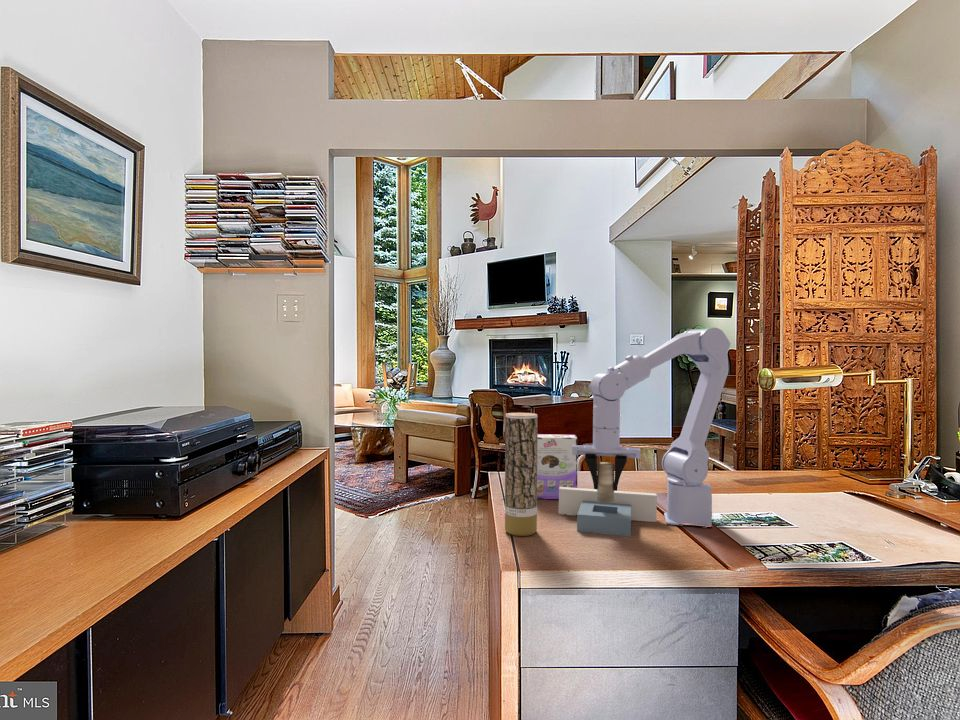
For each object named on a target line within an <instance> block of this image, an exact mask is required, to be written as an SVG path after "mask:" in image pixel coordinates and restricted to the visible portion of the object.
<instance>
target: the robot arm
mask: <svg viewBox="0 0 960 720" xmlns="http://www.w3.org/2000/svg"><path fill="white" fill-rule="evenodd" d="M730 347H731V342H730V340H729V338H728V337H727V335H726V333H725V332H724V330H722V329H720V328H718V327H710V328H701V329H700V328H699V329H694V328H691V329H690V328H689V329H687V330H686V331H684V332H682V333H678V334H676V335H675V336H674V337H673V338H671V339H669V340H668V341H666V342H664V343H663V344H661V345H660V346H658V347H657V348H655V349H653V350H652V351H650V352H648V353H647V354H646V355H644V356H640V355H637V354H636V355H631V354H629V355H627V356H625V357H624V361H622V362H620V363H618V364H617V365H615V366H614V367H613V366H609V367H607V372H600V373H597V374H595V375H594V376H593V377H592V379H591V381H590V384H588V390H589V392H590V394H591V395H592V396H593V397H592V398H593V407H592V408H593V409H592V415H593V416H592V444H591V445H589V444H586V445H585V444H584V445H582V444H580V445H578V444H577V445H573V447H572V455H577V456H578V455H579V456H581V455H582V456H584V461H585V463H586V466H587V467H588V470H589V472H590V475H591V479H592V482H593V483H592V484H593V489H597V467H598V457H614V491H618V485H619V482H620V477H621V475H622V472H623V470H624V467H625V466H626V464H627V462H628V458H632V459H633V458H634V459H636V460H637V459H641V448H639V447H638V448H636V447H629V446H620V436H621V435H620V432H621V431H620V424H621V423H620V422H621V421H620V420H621V419H620V418H621V417H620V416H621V415H620V414H621V408H620V407H621V400H620V399H621V398H622V397H623V396H624V394H625V392H626V391H627V390H629V389H630V388H632V387H634V386H636V385H637V384H639V383H641V382H643V381H644V380H646V379H648V378H649V377H651V376H650V375H651V373H652V370H653V369H655V368H656V367H659V366H661V365H662V364H664V363H666V362H668V361H670V360H673V359H675V358H676V357H678V356H680V355H685V356H687V358H689V360H691V361H692V362H693V363H694V364H695V365H696V367H697V368H698V370H699V372H700V375H699V378H698V381H697V383H696V386H695V389H694V392H693V395H692V399H691V402H690V404H689V406H688V407H689V408H688V411H687V414H686V417H685V420H684V423H683V425H682V429H681V431H680V435H679V437H677V438H676V439H675V440H673V441H672V442H671V443H670V446H669V449H667V451H666V452H665V453H664V455H663V456H662V459H661V468H662V471H664V473H665V474H666V480H667V481H666V483H667V484H666V486H667V487H666V512H664V513H663V515H664V519H665V520H664V521H665V524H666V525H674V526H675V525H676V526H680V525H679V524H681V523H690V524H691V523H693V524H697V525H704V526H712V527H713V524H712V521H713V520H712V519H713V492H712V486H711V484H709V483H703V482H704V481H705V480H706V479H707V476H708V473H709V466H708V463H709V462H708V461H709V458H710V454H709V451H708V448H706V441H707V438H708V435H709V432H710V429H711V426H712V423H713V420H714V417H715V413H716V412H717V407H718V404H719V401H720V400H721V399H720V398H721V395H722V393H723V389H724V386H725V385H726V380H727V377H728V374H729V370H730V369H729V360H728V359H729V358H728V352H729V349H730Z"/></svg>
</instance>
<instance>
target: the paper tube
mask: <svg viewBox="0 0 960 720" xmlns="http://www.w3.org/2000/svg"><path fill="white" fill-rule="evenodd" d="M538 417H539V416H538V414H537V413H534V412H533V413H532V412H508V413H507V412H506V413H505V428H504V429H505V430H504V431H505V433H504V434H505V435H504V436H505V439H504V440H505V442H504V444H505V445H504V447H505V449H504V452H505V453H504V457H505V458H504V463H505V464H504V466H505V467H504V530H505V532H506V533H508V534H509V535H512V536H516V537H526V536H527V537H528V536H531V535H534V534H535V533H536V532H537V528H538V527H537V526H538V524H537V523H538V519H537V518H538V517H537V516H538V499H537V439H538V434H539V433H538V430H539V429H538V425H539V424H538V421H539V420H538Z"/></svg>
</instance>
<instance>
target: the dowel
mask: <svg viewBox="0 0 960 720" xmlns="http://www.w3.org/2000/svg"><path fill="white" fill-rule="evenodd" d="M614 480H615V463H613V462H607V461H606V462H604V461H603V462H602V461H600V462H597V500H598V501H601V502H613V501H614Z"/></svg>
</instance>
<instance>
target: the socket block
mask: <svg viewBox="0 0 960 720" xmlns="http://www.w3.org/2000/svg"><path fill="white" fill-rule="evenodd" d="M576 517H577V518H576V522H577V523H576V531H577V532H580V531H583V532H582V533H590V532H593V533H594V534H601V533H602V534H603V535H605V534H606V535H611V536H612V535H614V536H621V535H622V536H625V537H631V531H632V529H631V528H632V520H631V505H628V504H616V503H604V502H592V501H582V503H581V506H580V508H579V511H578V514H577V516H576Z"/></svg>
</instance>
